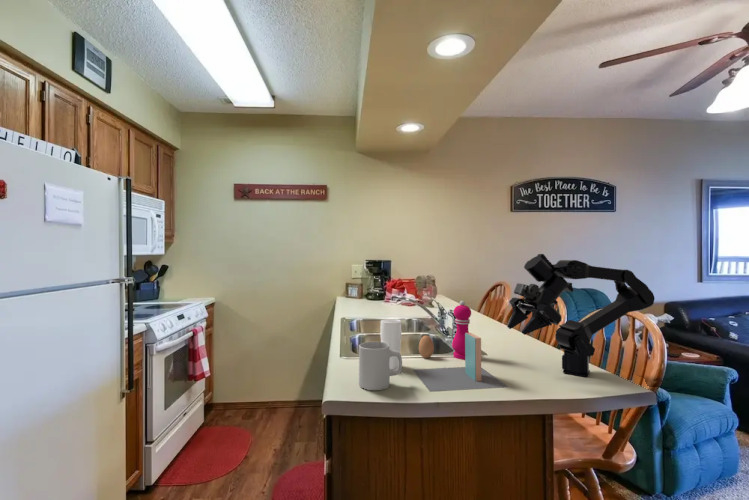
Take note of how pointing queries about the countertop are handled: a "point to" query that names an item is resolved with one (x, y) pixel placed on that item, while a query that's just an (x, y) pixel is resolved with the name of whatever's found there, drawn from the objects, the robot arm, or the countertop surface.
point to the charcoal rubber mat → (455, 379)
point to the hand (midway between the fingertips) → (515, 330)
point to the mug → (376, 365)
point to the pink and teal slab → (473, 356)
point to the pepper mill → (461, 329)
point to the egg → (426, 347)
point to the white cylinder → (391, 338)
